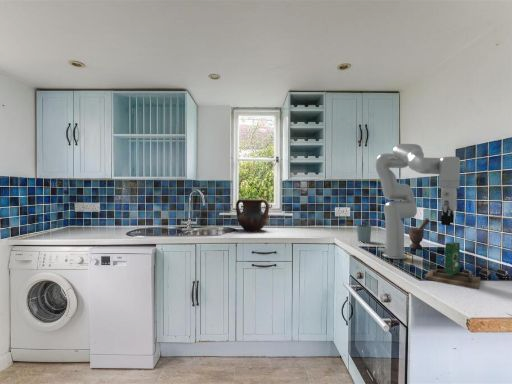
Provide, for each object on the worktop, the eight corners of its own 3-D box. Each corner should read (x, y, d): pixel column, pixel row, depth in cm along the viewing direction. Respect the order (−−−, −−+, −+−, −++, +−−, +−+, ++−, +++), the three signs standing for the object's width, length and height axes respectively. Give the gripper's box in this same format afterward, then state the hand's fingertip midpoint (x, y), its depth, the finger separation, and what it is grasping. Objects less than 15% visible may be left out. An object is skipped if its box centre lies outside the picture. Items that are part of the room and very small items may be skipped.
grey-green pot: (373, 241, 205) (373, 225, 205) (368, 243, 198) (368, 226, 198) (359, 240, 212) (359, 224, 212) (354, 241, 205) (354, 225, 205)
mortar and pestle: (422, 246, 188) (423, 217, 188) (431, 249, 179) (431, 218, 179) (406, 246, 188) (406, 217, 188) (413, 249, 179) (414, 218, 179)
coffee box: (452, 270, 122) (452, 241, 122) (460, 272, 119) (460, 242, 119) (444, 274, 117) (444, 242, 117) (452, 275, 115) (452, 243, 115)
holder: (424, 279, 119) (424, 272, 119) (430, 271, 129) (430, 266, 129) (478, 289, 107) (478, 282, 107) (480, 280, 117) (480, 273, 117)
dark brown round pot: (270, 229, 270) (271, 198, 270) (267, 233, 243) (268, 199, 242) (238, 228, 275) (238, 197, 275) (231, 232, 247) (231, 198, 247)
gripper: (456, 185, 113) (455, 227, 114) (461, 185, 126) (460, 222, 127) (435, 184, 118) (433, 225, 119) (441, 184, 131) (440, 221, 132)
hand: (447, 223), depth 123 cm, fingers open, 9 cm apart
